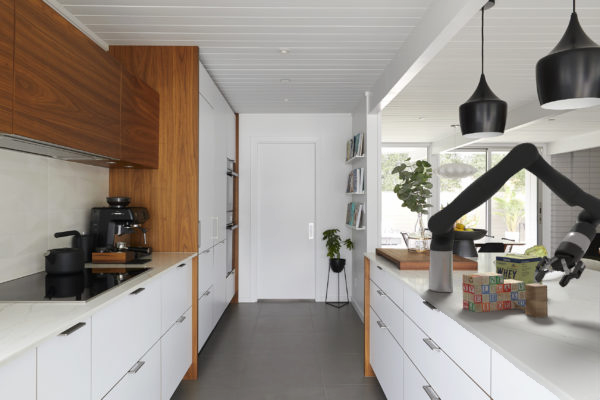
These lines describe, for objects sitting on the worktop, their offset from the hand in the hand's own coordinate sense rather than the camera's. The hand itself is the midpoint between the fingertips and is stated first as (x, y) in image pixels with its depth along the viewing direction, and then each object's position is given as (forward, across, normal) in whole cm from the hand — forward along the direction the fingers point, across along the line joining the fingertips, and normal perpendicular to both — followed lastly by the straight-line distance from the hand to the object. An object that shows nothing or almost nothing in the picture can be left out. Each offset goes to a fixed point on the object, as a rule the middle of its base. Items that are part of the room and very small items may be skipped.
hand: (549, 283), depth 129 cm
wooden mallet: (+11, -3, +3) cm, 12 cm away
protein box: (-4, -26, +19) cm, 32 cm away
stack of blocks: (+15, -12, -1) cm, 20 cm away
